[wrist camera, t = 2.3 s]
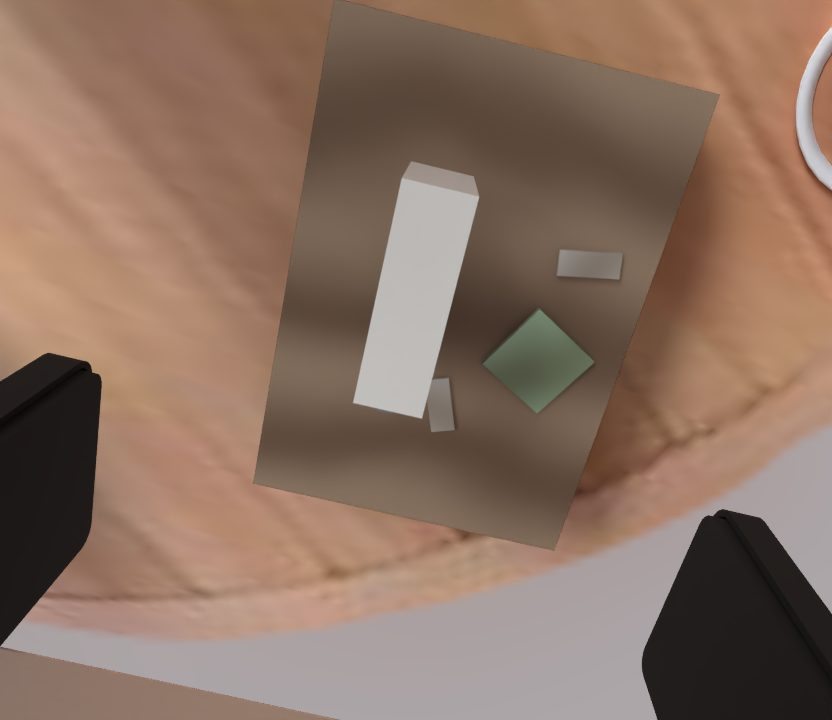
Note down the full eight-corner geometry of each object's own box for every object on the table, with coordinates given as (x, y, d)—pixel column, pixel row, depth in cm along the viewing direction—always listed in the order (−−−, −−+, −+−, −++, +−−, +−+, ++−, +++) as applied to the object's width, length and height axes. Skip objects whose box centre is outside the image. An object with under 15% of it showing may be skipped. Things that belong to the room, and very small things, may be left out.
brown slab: (352, 13, 29) (332, -4, 24) (677, 94, 30) (723, 94, 25) (278, 433, 36) (251, 487, 31) (540, 492, 37) (555, 554, 32)
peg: (414, 156, 26) (401, 177, 19) (472, 170, 26) (479, 196, 19) (360, 399, 29) (334, 486, 23) (411, 410, 30) (400, 501, 23)
